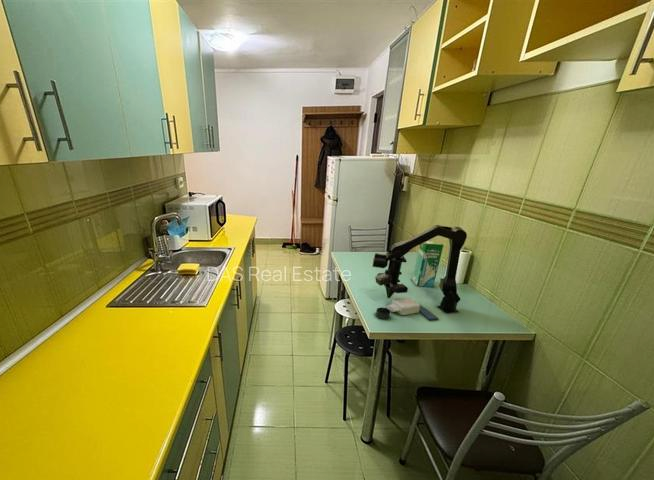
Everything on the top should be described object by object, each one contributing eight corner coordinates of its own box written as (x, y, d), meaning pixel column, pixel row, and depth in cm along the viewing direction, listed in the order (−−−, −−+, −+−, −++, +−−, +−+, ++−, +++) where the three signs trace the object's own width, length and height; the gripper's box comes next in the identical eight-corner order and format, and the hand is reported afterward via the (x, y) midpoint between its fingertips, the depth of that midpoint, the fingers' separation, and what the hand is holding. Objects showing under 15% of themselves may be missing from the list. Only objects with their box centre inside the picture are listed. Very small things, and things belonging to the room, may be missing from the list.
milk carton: (427, 280, 179) (437, 239, 169) (433, 287, 171) (443, 244, 161) (412, 279, 180) (420, 239, 170) (416, 286, 172) (426, 243, 162)
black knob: (384, 312, 143) (385, 306, 142) (391, 318, 138) (393, 312, 136) (373, 313, 142) (374, 307, 140) (379, 320, 136) (381, 314, 135)
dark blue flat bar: (417, 304, 151) (417, 302, 151) (438, 319, 138) (438, 318, 138) (409, 305, 150) (409, 303, 150) (429, 320, 137) (429, 319, 137)
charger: (379, 308, 146) (405, 304, 151) (392, 318, 138) (418, 313, 143) (381, 300, 144) (407, 296, 149) (393, 309, 136) (420, 304, 141)
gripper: (369, 263, 153) (365, 291, 160) (389, 277, 137) (384, 308, 143) (389, 262, 156) (384, 289, 162) (411, 276, 139) (404, 306, 145)
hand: (388, 297), depth 153 cm, fingers closed
